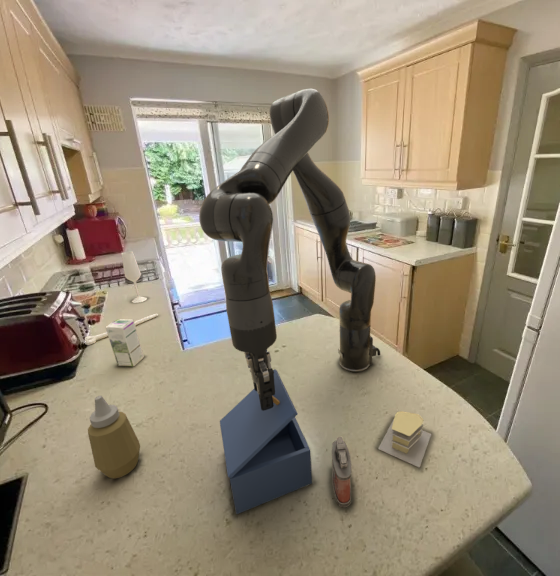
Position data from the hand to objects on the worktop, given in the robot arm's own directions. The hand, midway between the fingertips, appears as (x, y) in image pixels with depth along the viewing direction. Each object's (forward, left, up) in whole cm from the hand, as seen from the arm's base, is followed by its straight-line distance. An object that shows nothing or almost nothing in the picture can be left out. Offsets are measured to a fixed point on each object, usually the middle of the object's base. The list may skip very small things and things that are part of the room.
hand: (263, 397), depth 58 cm
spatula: (+39, -85, -18) cm, 95 cm away
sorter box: (+1, 0, -18) cm, 18 cm away
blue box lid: (+2, 0, -4) cm, 5 cm away
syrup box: (+33, -57, -18) cm, 68 cm away
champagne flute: (+37, -117, -18) cm, 124 cm away
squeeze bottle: (+29, -13, -18) cm, 36 cm away
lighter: (-11, +10, -18) cm, 23 cm away
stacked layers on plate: (-29, +6, -18) cm, 35 cm away
